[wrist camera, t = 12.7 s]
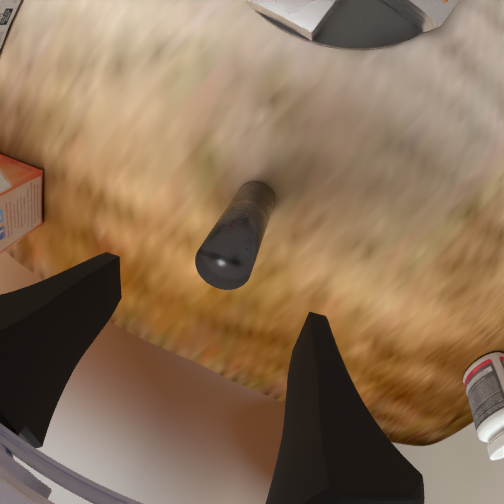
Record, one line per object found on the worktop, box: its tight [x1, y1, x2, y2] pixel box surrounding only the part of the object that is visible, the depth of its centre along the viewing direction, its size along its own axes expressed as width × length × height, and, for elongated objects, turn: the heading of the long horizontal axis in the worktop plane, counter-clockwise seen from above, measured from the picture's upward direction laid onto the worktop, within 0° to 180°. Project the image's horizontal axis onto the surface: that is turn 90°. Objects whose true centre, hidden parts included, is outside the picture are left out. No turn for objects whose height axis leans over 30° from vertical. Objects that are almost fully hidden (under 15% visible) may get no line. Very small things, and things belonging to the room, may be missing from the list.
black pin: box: [195, 181, 275, 290], centre depth 17 cm, size 2×2×8 cm
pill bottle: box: [463, 352, 504, 460], centre depth 20 cm, size 5×5×10 cm
